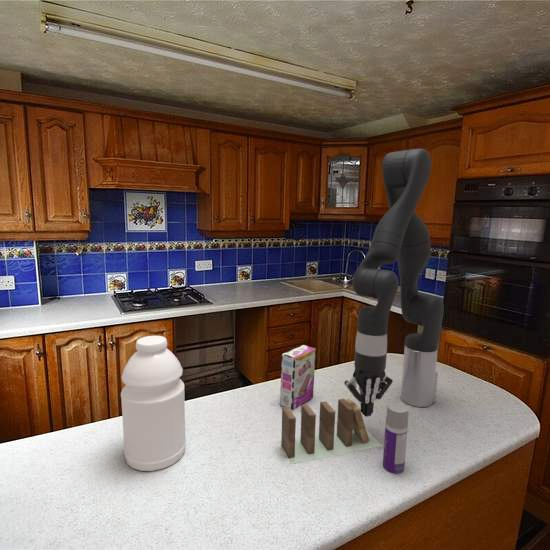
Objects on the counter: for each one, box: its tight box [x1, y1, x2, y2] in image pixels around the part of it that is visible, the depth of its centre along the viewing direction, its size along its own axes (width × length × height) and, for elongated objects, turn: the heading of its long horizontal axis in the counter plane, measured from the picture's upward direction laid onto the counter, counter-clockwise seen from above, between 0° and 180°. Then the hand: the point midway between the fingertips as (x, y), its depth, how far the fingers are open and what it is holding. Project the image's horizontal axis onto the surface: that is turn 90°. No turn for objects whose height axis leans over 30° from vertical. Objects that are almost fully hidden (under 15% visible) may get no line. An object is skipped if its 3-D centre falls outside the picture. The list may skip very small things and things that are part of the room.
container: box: [382, 401, 409, 475], centre depth 83 cm, size 5×5×15 cm
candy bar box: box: [279, 344, 317, 411], centre depth 112 cm, size 11×5×16 cm, turn 141°
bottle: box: [120, 335, 187, 472], centre depth 86 cm, size 14×14×28 cm
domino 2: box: [299, 403, 317, 455], centre depth 90 cm, size 2×5×10 cm, turn 18°
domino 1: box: [280, 407, 297, 458], centre depth 88 cm, size 2×5×10 cm, turn 18°
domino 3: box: [318, 400, 336, 451], centre depth 91 cm, size 2×5×10 cm, turn 18°
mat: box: [277, 429, 382, 465], centre depth 93 cm, size 24×9×1 cm, turn 108°
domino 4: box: [336, 398, 354, 447], centre depth 93 cm, size 2×5×10 cm, turn 18°
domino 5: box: [345, 397, 369, 444], centre depth 94 cm, size 2×5×10 cm, turn 18°
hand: (366, 414), depth 94 cm, fingers closed
